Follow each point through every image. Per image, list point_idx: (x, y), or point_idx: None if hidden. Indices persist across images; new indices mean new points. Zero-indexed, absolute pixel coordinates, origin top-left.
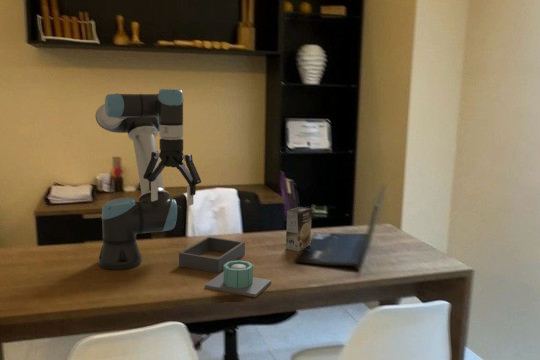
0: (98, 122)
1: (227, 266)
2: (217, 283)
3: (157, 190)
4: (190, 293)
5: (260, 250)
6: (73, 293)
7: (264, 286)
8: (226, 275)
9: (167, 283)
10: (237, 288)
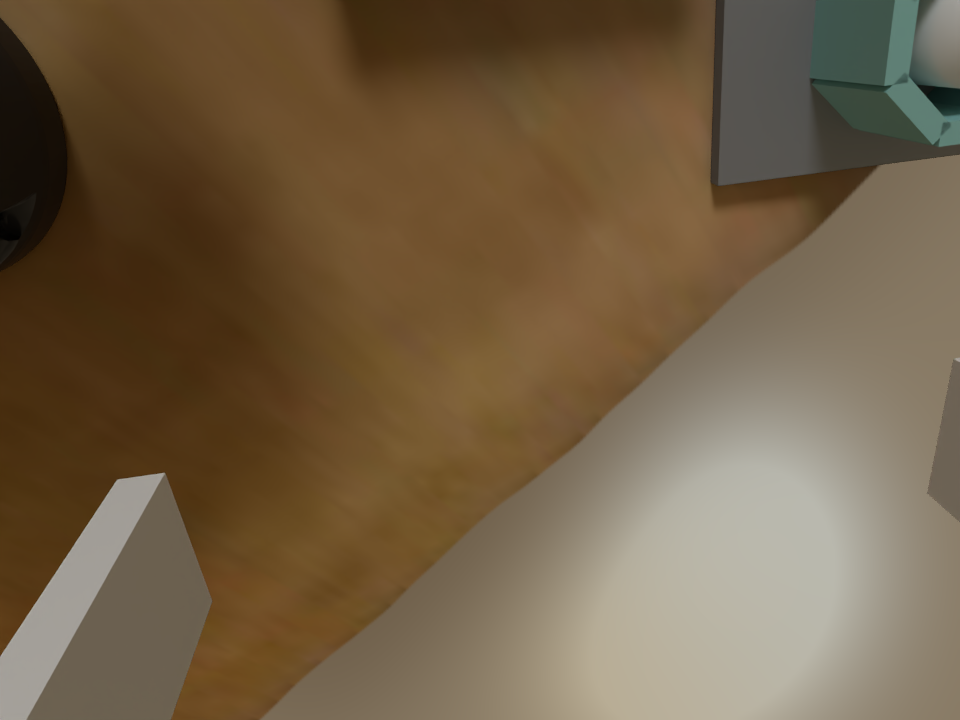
0: None
1: (923, 101)
2: (781, 121)
3: (83, 632)
4: (673, 290)
5: None
6: None
7: None
8: (891, 131)
9: (471, 248)
10: None
